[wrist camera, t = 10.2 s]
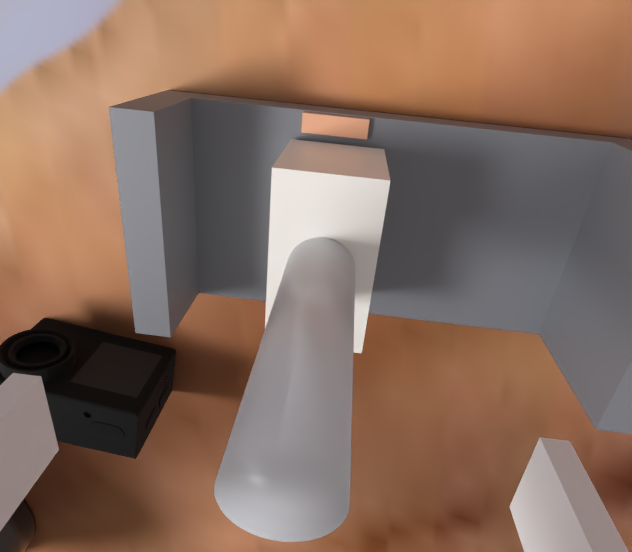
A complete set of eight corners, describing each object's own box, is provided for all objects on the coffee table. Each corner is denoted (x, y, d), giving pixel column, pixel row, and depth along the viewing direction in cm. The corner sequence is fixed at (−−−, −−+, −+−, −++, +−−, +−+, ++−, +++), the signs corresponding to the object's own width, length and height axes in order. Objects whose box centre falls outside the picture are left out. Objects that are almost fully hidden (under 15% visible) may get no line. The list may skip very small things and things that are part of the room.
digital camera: (179, 336, 34) (140, 402, 28) (173, 390, 37) (136, 461, 31) (42, 303, 34) (-28, 362, 28) (46, 359, 37) (-18, 425, 31)
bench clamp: (179, 275, 32) (109, 367, 23) (168, 90, 26) (70, 118, 17) (588, 324, 31) (680, 440, 22) (669, 143, 25) (834, 201, 16)
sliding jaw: (282, 285, 29) (185, 591, 13) (290, 139, 25) (163, 328, 9) (361, 294, 29) (361, 617, 13) (384, 149, 24) (426, 360, 9)
